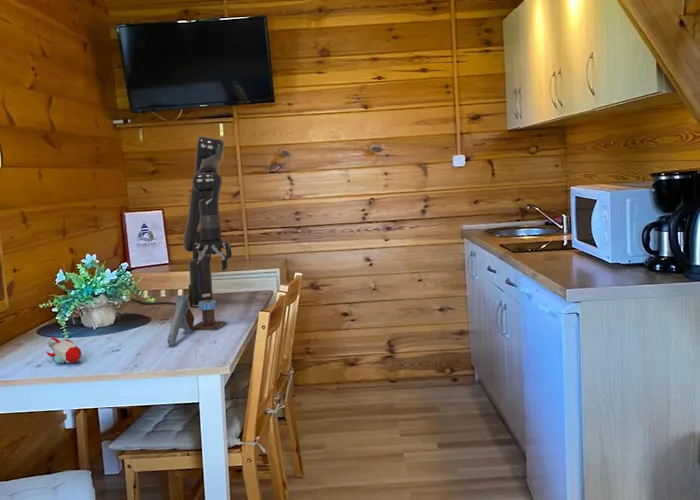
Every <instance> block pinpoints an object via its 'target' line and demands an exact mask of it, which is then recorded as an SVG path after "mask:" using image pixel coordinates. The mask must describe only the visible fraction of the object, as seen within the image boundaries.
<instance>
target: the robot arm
mask: <svg viewBox="0 0 700 500" xmlns="http://www.w3.org/2000/svg"><path fill="white" fill-rule="evenodd" d="M225 147H226V146H225V142H224V141H223V140H222V139H220V138H215V137H210V136H209V137H208V136H202V135H201V136H199V137H198V138H197V142H196V145H195V160H194V171H193V177H192V181H191V182H192V183H191V190H190V197H189V198H190V199H189V208H188V214H187V219H186V223H185V229H184V233H183V239H182V240H183V241H182V243H183V248H184V250H185V251H186V252H189V253H190V252H191V253H192V258H191V259H190V260H189V261H188V268H189V271H188V272H189V284H188V296H187V298H188V303H189V307H193V308H199V302H200V301H205V300H214V297H213V296H214V294H213V281H212V280H213V279H212V265H211V264H212V263H211V261H212V255H217V256H218V257H220V259H221V269H222V270H221V271H226V270H227V268H228V260H229V259H231V258H232V256H233V253H232V246H231V242H230V241H226V242H223V241H222V224H221V218H220V208H219V207H220V206H219V205H220V204H219V203H220V201H219V200H220V193H221V189H222V184H223V178H222V176H221V174H220V173H219V168H220V166H221V164H222V161H223V160H224V159H223V158H224V154H225ZM198 227H199V229H198ZM222 248H224V249H225V252H224V251H223V249H222ZM130 299H131V300H129V301H130V302H131V301H132V302H134V303H140V304H143V305H165V304H168V305H175V306H176V303H177V302H170V301H157V302H155V301H153V302H144V301H142V300H138V299H134V298H130Z"/></svg>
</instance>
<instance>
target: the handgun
mask: <svg viewBox="0 0 700 500" xmlns="http://www.w3.org/2000/svg"><path fill="white" fill-rule="evenodd" d="M175 303H176V305H175V309H174V311H175V312H174V315H173V319H172V323H171V326H170V329H169V333H168V337H167V340H166V341H167V345H168V346H170V347H175V345H176V341H177V338H178V334H179V332H180V329H183V333H184V334H191V333H192V331H193V330H192V328H193V326H194V325H195V322H194V321H195V316H194V314H193V313H192V310H191V309H190V305H189V302H188V296H186V294H185V293H181V295H178V296H177V300H176V302H175Z"/></svg>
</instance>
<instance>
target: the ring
mask: <svg viewBox="0 0 700 500" xmlns="http://www.w3.org/2000/svg"><path fill="white" fill-rule="evenodd" d="M217 304H218V303H217V300H215V299H213V300H210V302H207V303H205V301H200V302H199V307H198V309H199V311H202V310H211V309H214V310H215V309H217V308H218V305H217Z"/></svg>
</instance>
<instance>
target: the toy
mask: <svg viewBox="0 0 700 500" xmlns="http://www.w3.org/2000/svg"><path fill="white" fill-rule="evenodd" d="M50 339H51V340H53V341H48V342H47V344H48V348H50V349H51V350H52V352H49V351H45V354H46V355H47V356H48V357H52V358H53V361H54V362H55V363H56V364H65V363H66V364H69V363H70V364H73V363H76V362H78V361H79V360H80V359H81V357H82V349H80V347H79V346H78V345H76V344H75V343H74V341H72V340H70V339H67V338H66V339H64V340H60V339H59V338H56V337H54V336H51V337H50Z"/></svg>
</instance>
